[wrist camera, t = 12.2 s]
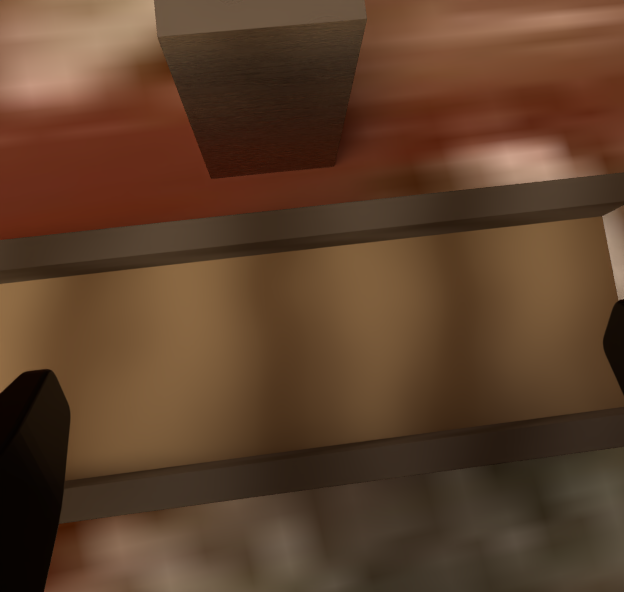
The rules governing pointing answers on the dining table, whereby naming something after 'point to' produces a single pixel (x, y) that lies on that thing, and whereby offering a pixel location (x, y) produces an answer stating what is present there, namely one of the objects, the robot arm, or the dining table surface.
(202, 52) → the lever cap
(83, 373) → the tan piece
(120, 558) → the dining table surface
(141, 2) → the dining table surface
